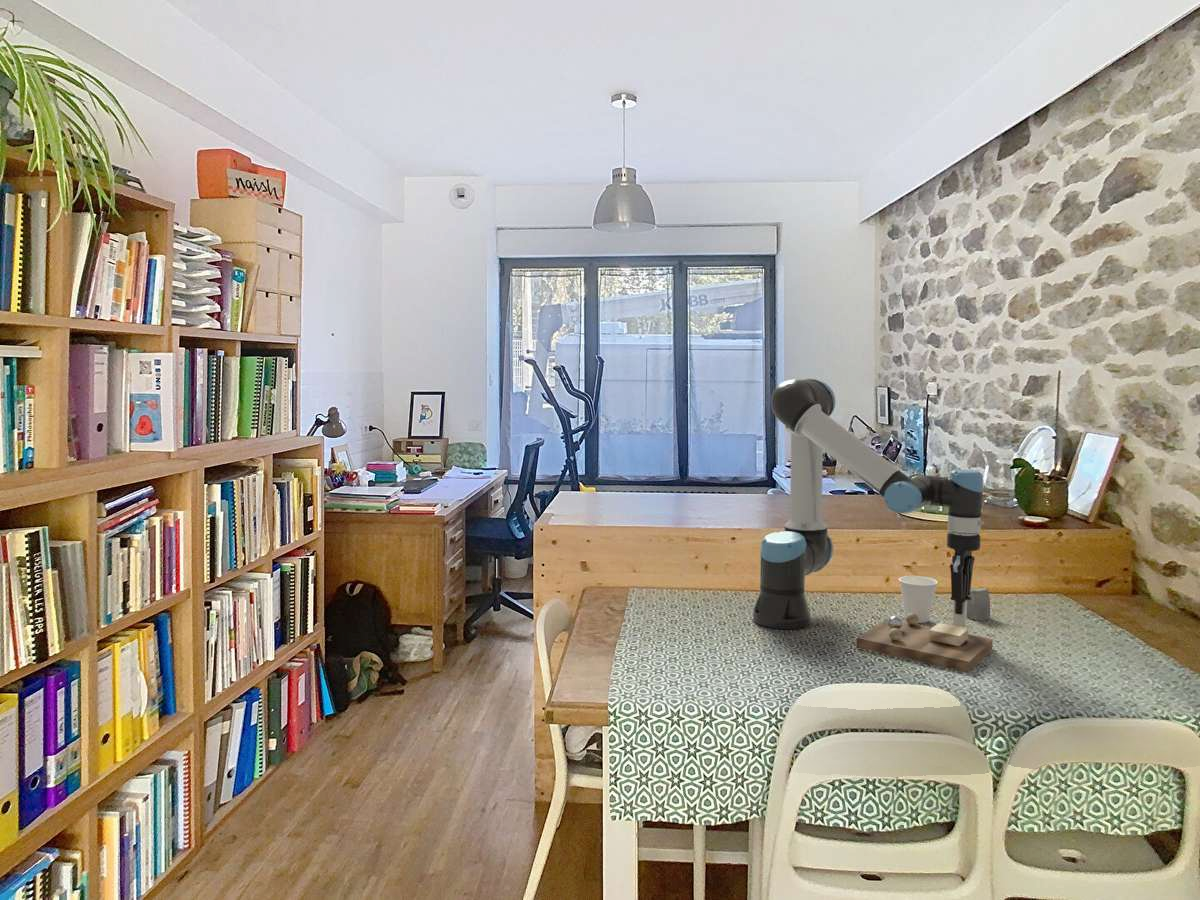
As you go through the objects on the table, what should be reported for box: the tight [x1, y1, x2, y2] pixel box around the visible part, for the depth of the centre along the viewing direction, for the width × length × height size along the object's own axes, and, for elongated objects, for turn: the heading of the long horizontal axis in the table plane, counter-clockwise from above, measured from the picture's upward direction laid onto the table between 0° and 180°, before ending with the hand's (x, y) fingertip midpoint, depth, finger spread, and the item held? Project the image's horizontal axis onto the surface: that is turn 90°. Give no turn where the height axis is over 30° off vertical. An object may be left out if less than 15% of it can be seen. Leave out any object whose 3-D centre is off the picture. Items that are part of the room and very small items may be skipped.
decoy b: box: [905, 613, 919, 625], centre depth 213 cm, size 3×3×3 cm
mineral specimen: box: [966, 587, 991, 622], centre depth 229 cm, size 7×9×8 cm
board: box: [855, 618, 993, 673], centre depth 203 cm, size 26×20×2 cm
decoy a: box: [889, 628, 902, 641], centre depth 201 cm, size 3×3×3 cm
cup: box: [898, 575, 939, 624], centre depth 225 cm, size 10×10×11 cm
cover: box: [929, 622, 969, 646], centre depth 201 cm, size 7×7×2 cm
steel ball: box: [887, 615, 903, 629], centre depth 209 cm, size 4×4×4 cm
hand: (959, 625), depth 208 cm, fingers closed
